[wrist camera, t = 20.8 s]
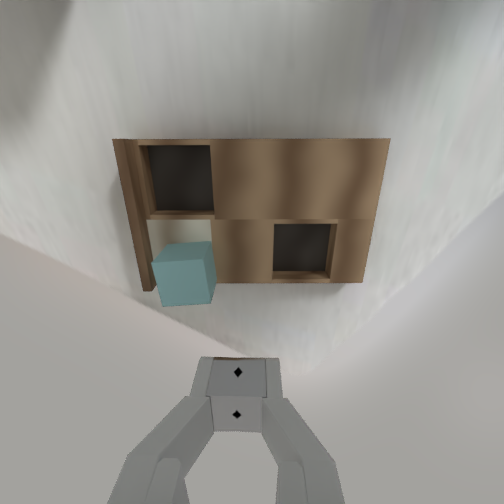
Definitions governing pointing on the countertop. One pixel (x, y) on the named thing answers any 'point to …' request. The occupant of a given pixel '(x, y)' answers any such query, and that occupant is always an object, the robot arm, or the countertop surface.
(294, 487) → the robot arm
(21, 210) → the countertop surface
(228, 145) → the board
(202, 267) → the teal block
